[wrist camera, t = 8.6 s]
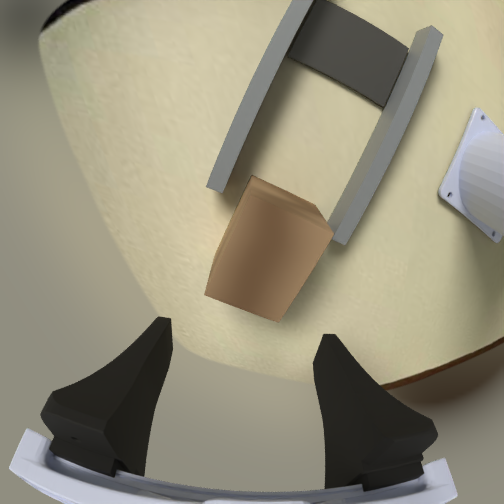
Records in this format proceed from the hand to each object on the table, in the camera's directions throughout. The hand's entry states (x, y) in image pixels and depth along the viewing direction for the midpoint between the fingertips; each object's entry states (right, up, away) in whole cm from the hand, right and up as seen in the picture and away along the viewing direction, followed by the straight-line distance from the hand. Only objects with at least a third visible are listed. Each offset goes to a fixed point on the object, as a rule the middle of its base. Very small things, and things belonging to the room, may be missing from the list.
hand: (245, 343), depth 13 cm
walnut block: (+1, +6, +6) cm, 8 cm away
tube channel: (+5, +14, +2) cm, 15 cm away
